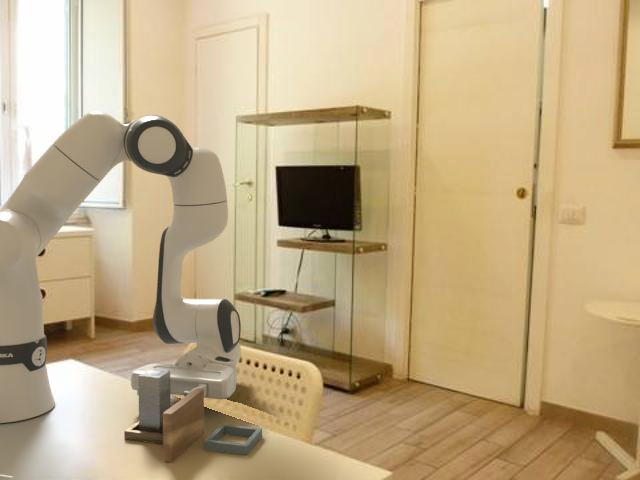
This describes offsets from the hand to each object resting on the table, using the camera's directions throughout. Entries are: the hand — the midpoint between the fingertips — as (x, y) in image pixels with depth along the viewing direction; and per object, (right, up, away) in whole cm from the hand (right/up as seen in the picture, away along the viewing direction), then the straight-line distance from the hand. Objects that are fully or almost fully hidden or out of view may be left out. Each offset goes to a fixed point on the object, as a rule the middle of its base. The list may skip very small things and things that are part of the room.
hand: (163, 394), depth 112 cm
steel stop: (-1, -6, -3) cm, 7 cm away
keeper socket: (+14, -7, -6) cm, 17 cm away
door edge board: (+6, -7, -8) cm, 12 cm away
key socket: (-1, -6, -3) cm, 7 cm away
